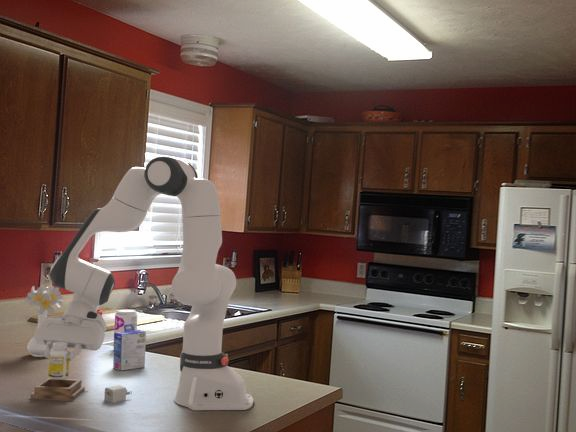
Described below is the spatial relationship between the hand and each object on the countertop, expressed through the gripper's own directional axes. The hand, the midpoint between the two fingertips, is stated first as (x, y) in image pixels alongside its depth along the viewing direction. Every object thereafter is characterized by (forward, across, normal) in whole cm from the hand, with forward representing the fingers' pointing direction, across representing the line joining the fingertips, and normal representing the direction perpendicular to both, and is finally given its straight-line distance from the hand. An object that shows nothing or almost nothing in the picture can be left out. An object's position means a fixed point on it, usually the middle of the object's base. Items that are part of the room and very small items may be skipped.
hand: (58, 358), depth 195 cm
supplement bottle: (+4, 0, +4) cm, 6 cm away
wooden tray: (+7, 0, +8) cm, 10 cm away
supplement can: (-38, -10, +54) cm, 67 cm away
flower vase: (-23, -32, +39) cm, 55 cm away
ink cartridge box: (-20, +3, +36) cm, 42 cm away
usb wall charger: (+6, +18, +10) cm, 21 cm away
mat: (+7, 0, +8) cm, 11 cm away
